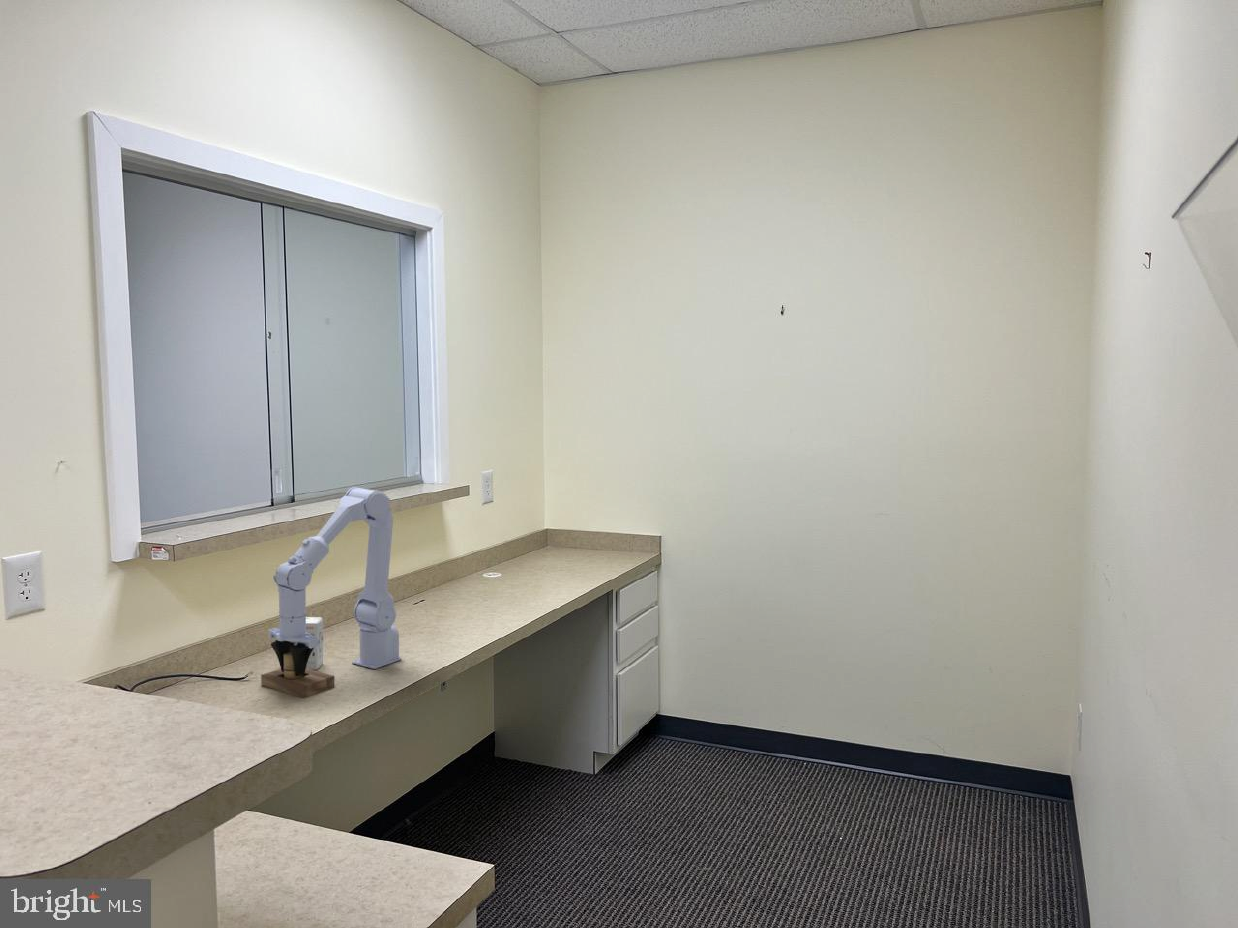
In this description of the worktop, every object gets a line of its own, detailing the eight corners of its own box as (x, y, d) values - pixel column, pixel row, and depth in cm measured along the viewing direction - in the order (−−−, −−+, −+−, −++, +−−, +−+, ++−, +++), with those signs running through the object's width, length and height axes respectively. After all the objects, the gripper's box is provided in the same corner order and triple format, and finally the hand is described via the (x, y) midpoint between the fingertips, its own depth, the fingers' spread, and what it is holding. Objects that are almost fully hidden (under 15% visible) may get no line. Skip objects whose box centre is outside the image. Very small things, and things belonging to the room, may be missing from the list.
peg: (295, 675, 215) (294, 650, 214) (306, 678, 212) (305, 652, 212) (280, 679, 211) (279, 654, 211) (291, 683, 209) (290, 657, 208)
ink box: (281, 669, 223) (281, 621, 222) (288, 662, 228) (288, 616, 227) (317, 670, 223) (317, 622, 222) (323, 663, 228) (323, 617, 227)
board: (293, 674, 219) (293, 664, 219) (334, 686, 212) (334, 675, 212) (261, 685, 212) (261, 674, 211) (303, 697, 205) (303, 686, 204)
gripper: (256, 613, 211) (257, 671, 212) (300, 624, 203) (300, 683, 205) (282, 607, 217) (282, 663, 218) (325, 617, 209) (325, 675, 211)
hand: (293, 672), depth 212 cm, fingers closed on peg, 4 cm apart
